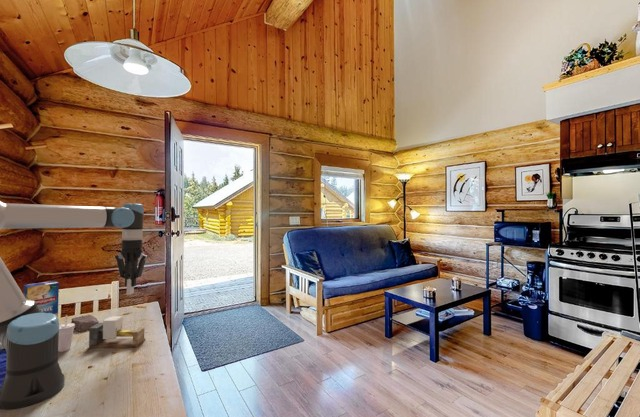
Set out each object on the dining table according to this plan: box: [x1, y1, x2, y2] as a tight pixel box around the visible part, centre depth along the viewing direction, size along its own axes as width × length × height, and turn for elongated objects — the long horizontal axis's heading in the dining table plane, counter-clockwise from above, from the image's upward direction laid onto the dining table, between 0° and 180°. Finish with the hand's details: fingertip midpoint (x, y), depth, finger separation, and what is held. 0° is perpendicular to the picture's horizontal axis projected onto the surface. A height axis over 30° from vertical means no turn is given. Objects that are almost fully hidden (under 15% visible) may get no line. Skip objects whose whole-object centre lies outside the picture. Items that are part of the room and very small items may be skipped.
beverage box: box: [23, 280, 60, 318], centre depth 138 cm, size 7×11×22 cm, turn 146°
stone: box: [70, 314, 100, 332], centre depth 143 cm, size 9×12×5 cm
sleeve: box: [102, 315, 123, 339], centre depth 126 cm, size 5×5×8 cm
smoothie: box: [58, 314, 75, 353], centre depth 120 cm, size 6×6×14 cm
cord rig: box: [88, 322, 146, 349], centre depth 126 cm, size 20×7×8 cm, turn 93°
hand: (130, 294), depth 126 cm, fingers closed
